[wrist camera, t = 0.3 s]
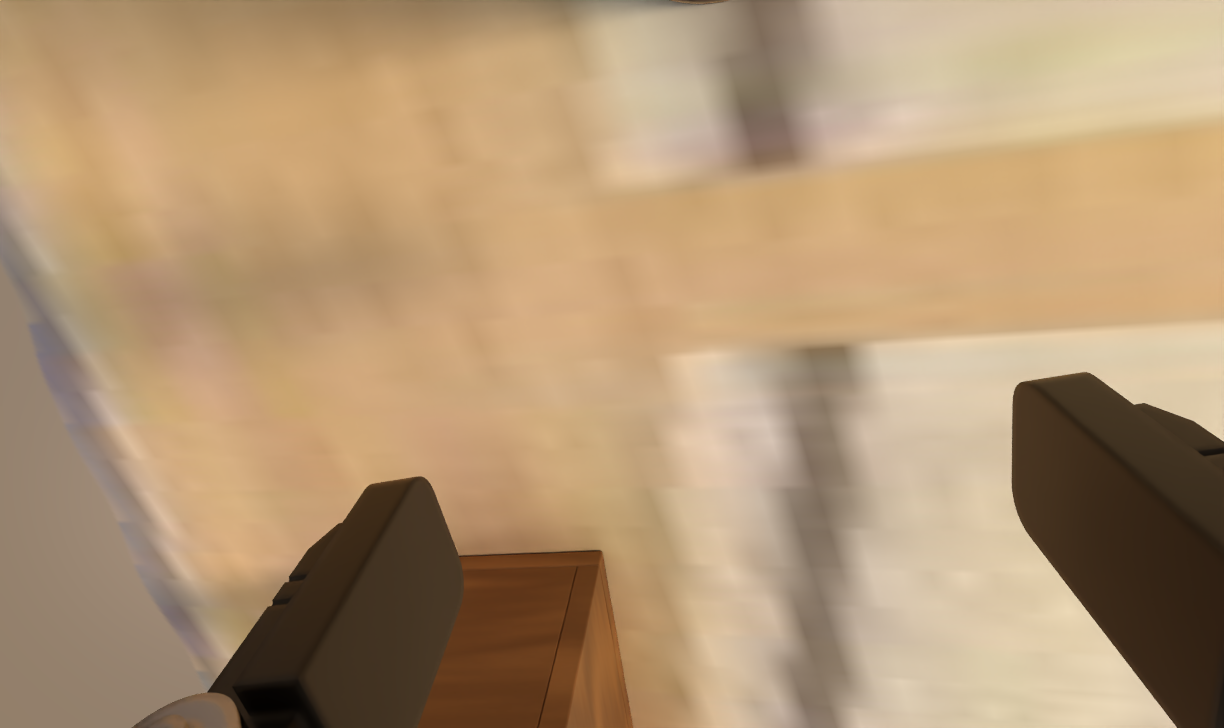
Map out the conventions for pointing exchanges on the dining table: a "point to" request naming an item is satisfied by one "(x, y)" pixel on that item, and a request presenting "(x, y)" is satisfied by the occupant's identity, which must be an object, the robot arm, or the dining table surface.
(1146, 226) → the dining table surface
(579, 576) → the cupboard
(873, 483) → the dining table surface
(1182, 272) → the dining table surface
